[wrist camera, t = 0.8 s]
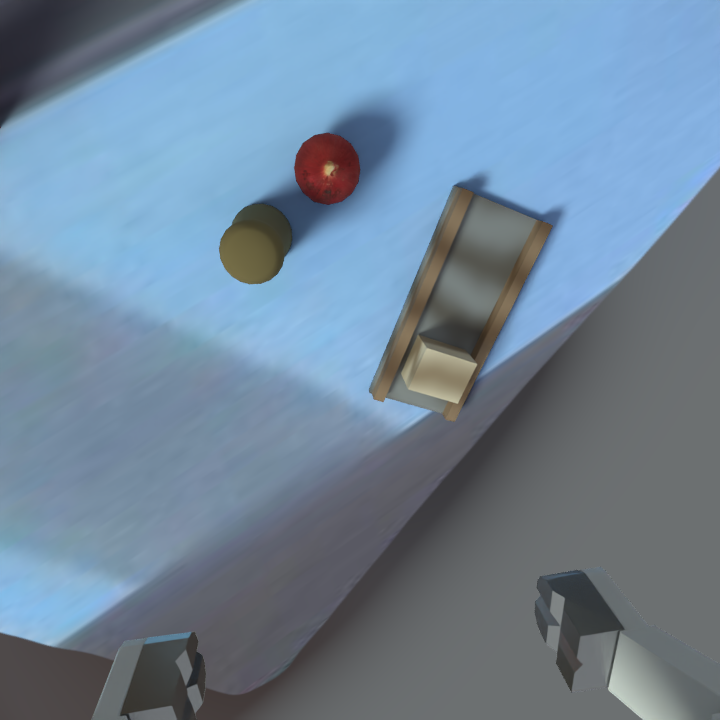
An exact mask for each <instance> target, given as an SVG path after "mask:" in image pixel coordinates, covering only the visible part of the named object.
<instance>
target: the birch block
mask: <svg viewBox="0 0 720 720" xmlns="http://www.w3.org/2000/svg"><path fill="white" fill-rule="evenodd" d="M476 366H477V363H476V362H475V361H474V359H473V358H472V357H471V356H470V355H469V354H468V352H467V351H466V350H464V349H461V348H458V347H455V346H452V345H449V344H446V343H443V342H439V341H436V340H433V339H430V338H427V337H424V336H421V335H417V338H416V340H415V342H414V345H413V347H412V349H411V352H410V354H409V356H408V358H407V361H406V363H405V365H404V368H403V370H402V372H401V375H402V377H403V379H404V381H405V383H406V386H407V388H408V389H409V390H412V391H416V392H419V393H422V394H426V395H429V396H433V397H436V398H440V399H443V400H447V401H450V402H453V403H457V404H458V402H459V400H460V398H461V396H462V394H463V392H464V390H465V388H466V386H467V384H468V382H469V380H470V378H471V376H472V374H473V372H474V370H475V368H476Z"/></svg>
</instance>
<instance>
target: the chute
mask: <svg viewBox="0 0 720 720" xmlns="http://www.w3.org/2000/svg"><path fill="white" fill-rule="evenodd" d="M552 227H553V225H550V224H548V223H546V222H543V221H539V220H536V219H533V218H531V217H529V216H526V215H524V214H521V213H519V212H517V211H514V210H512V209H509V208H507V207H505V206H502V205H500V204H497V203H495V202H493V201H490V200H488V199H486V198H483V197H481V196H478V195H476V194H474V192H471V191H469V190H467V189H464V188H460V187H457V186H453V188H452V190H451V193H450V195H449V198H448V200H447V202H446V205H445V207H444V210H443V212H442V214H441V217H440V219H439V222H438V224H437V226H436V229H435V231H434V234H433V236H432V239H431V241H430V243H429V246H428V248H427V251H426V253H425V255H424V258H423V260H422V263H421V265H420V268H419V270H418V272H417V275H416V277H415V280H414V282H413V284H412V287H411V289H410V292H409V294H408V296H407V299H406V301H405V304H404V306H403V309H402V311H401V313H400V316H399V318H398V321H397V323H396V325H395V328H394V330H393V333H392V335H391V337H390V340H389V342H388V345H387V347H386V350H385V352H384V354H383V357H382V359H381V362H380V364H379V366H378V369H377V371H376V374H375V376H374V378H373V381H372V383H371V386H370V388H369V392H370V393H372V395H373V399H374V400H378V401H381V402H384V400H385V397H386V398H389V399H393V400H396V401H400V402H403V403H407V404H410V405H414V406H418V407H421V408H425V409H428V410H432V411H435V412H439V413H442V414H443V416H444V418H445V419H446V420H449V421H453V422H455V420H456V418H457V416H458V414H459V412H460V410H461V408H462V406H463V404H464V402H465V400H466V398H467V396H468V394H469V392H470V390H471V388H472V386H473V384H474V382H475V380H476V378H477V376H478V374H479V372H480V370H481V368H482V366H483V364H484V362H485V360H486V358H487V356H488V354H489V352H490V350H491V348H492V346H493V344H494V342H495V340H496V338H497V336H498V334H499V332H500V330H501V328H502V326H503V324H504V322H505V320H506V318H507V316H508V314H509V312H510V310H511V308H512V306H513V304H514V302H515V300H516V298H517V296H518V294H519V292H520V290H521V288H522V286H523V284H524V282H525V280H526V278H527V276H528V274H529V272H530V270H531V268H532V266H533V264H534V262H535V260H536V258H537V256H538V254H539V253H540V251H541V249H542V247H543V245H544V243H545V241H546V239H547V237H548V235H549V233H550V231H551V229H552ZM417 335H421V336H424V337H427V338H430V339H433V340H436V341H439V342H443V343H446V344H449V345H452V346H455V347H458V348H461V349H464V350H466V351H467V352H468V354H469V355H470V356H471V357H472V358H473V359H474V361H475V362H476V363H477V366H476V368H475V370H474V372H473V374H472V376H471V378H470V380H469V382H468V384H467V386H466V388H465V390H464V392H463V394H462V396H461V398H460V400H459V402H458V404H457V403H453V402H450V401H447V400H443V399H440V398H436V397H433V396H429V395H426V394H422V393H419V392H416V391H412V390H409V389H408V388H407V386H406V383H405V381H404V379H403V377H402V375H401V372H402V370H403V368H404V365H405V363H406V361H407V358H408V356H409V354H410V352H411V349H412V347H413V345H414V342H415V340H416V338H417Z"/></svg>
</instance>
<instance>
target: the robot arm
mask: <svg viewBox="0 0 720 720" xmlns="http://www.w3.org/2000/svg"><path fill="white" fill-rule="evenodd" d="M537 589H538V591H539V593H540V597H539V598H538V599H537V600H536V601H535V616H536V620H537V625H538V628H539V630H540V633H541V635H542V637H543V639H544V641H545V643H546V645H548V646H549V647H550V648H552V649H553V650H554V651H556V652H557V659H556V664H557V666H558V668H559V670H560V672H561V674H562V676H563V678H564V679H565V681H566V683H567V685H568V687H569V689H570V691H571V693H573V692H579V691H586V690H593V689H600V688H607V687H609V688H608V690H609V691H610V692H612V693H613V694H614V695H615V696H616V697H617V698H618V699H620V700H621V701H622V702H623V703H624V704H625V705H627V706H628V707H629V708H630V709H631V710H632V711H634V712H635V713H636V714H637V715H638V716H639V717H641V718H642V719H643V720H720V664H719V663H717V662H715V661H714V660H712V659H711V658H709V657H707V656H706V655H704V654H702V653H701V652H699V651H697V650H695V649H694V648H692V647H691V646H689V645H687V644H685V643H684V642H682V641H680V640H679V639H677V638H675V637H674V636H672V635H670V634H668V633H667V632H665V631H663V630H662V629H660V628H658V627H657V626H648V625H647V623H646V622H645V621H644V619H643V618H642V617H641V616H640V614H639V613H638V612H637V611H636V609H635V608H634V607H633V606H632V604H631V603H630V601H629V600H628V599H627V598H626V596H625V595H624V594H623V593H622V591H621V590H620V589H619V587H618V586H617V585H616V584H615V582H614V581H613V580H612V578H611V577H610V576H609V575H608V573H607V572H606V571H605V570H604V569H603V568H601V567H596V568H590V569H584V570H574V571H568V572H563V573H557V574H551V575H546V576H540V578H539V579H538V581H537ZM198 642H199V641H198V639H197V636H196V633H195V632H188V633H181V634H173V635H165V636H157V637H150V638H143V639H136V640H129V641H125V642H124V643H123V644H122V646H121V647H120V648H119V650H118V653H117V655H116V658H115V660H114V663H113V666H112V668H111V671H110V674H109V676H108V679H107V681H106V684H105V686H104V689H103V691H102V694H101V697H100V699H99V702H98V705H97V707H96V710H95V712H94V715H93V717H92V720H197V719H196V716H195V713H196V711H197V710H198V709H199V707H200V706H201V705H202V703H203V699H204V693H205V684H206V669H205V662H204V658H203V655H202V654H200V653H198V652H197V647H198Z"/></svg>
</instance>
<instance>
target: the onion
mask: <svg viewBox="0 0 720 720" xmlns="http://www.w3.org/2000/svg"><path fill="white" fill-rule="evenodd" d="M294 169H295V176H296V181H297V183H298V185H299V187H300V188H301V190H302V192H303V193H304V194H305V195H306V196H308V197H309V198H310V199H311V200H313V201H314V202H317V203H322V204H326V205H330V204H334V203H338V202H342V201H343V200H344V199H346V198H347V197H348V196H349V195H350V194H352V192H353V191H354V189H355V187H356V185H357V184H358V181H359V174H360V165H359V158H358V155H357V153H356V151H355V150H354V148H353V146H352V145H351V143H349V142H348V141H347V140H345V139H344V138H342V137H341V136H338V135H334V134H330V133H324V134H318V135H314V136H313V137H311V138H310V139H308V140H307V141H305V142H304V143H303V144H302V146H301V148H300V149H299V151H298V153H297V155H296V160H295V166H294Z"/></svg>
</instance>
